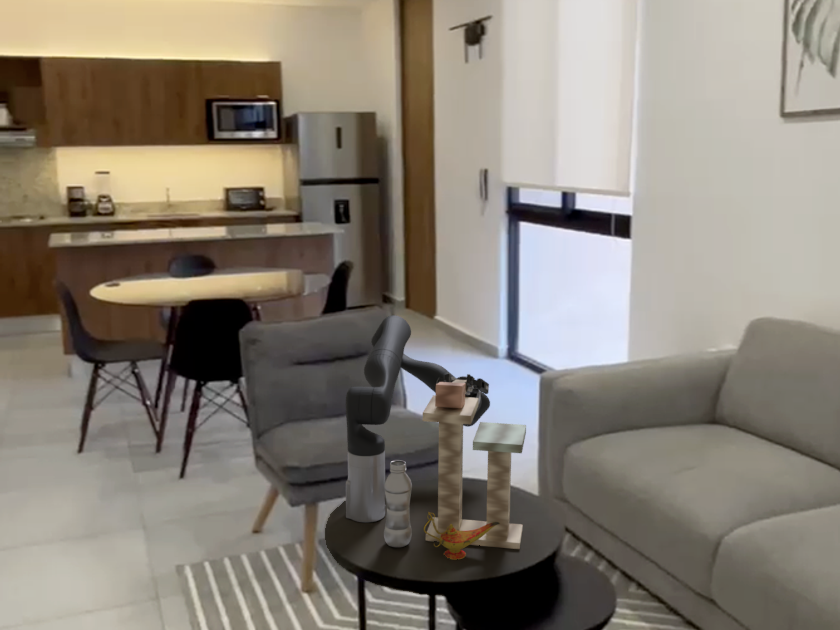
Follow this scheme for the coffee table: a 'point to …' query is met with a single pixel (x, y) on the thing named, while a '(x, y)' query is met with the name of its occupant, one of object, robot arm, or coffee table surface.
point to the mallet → (451, 394)
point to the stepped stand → (499, 446)
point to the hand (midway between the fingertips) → (457, 377)
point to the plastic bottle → (397, 505)
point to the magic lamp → (458, 538)
